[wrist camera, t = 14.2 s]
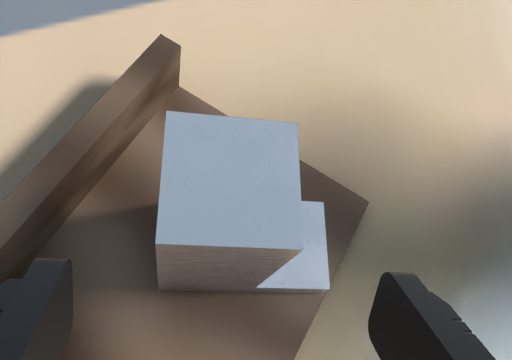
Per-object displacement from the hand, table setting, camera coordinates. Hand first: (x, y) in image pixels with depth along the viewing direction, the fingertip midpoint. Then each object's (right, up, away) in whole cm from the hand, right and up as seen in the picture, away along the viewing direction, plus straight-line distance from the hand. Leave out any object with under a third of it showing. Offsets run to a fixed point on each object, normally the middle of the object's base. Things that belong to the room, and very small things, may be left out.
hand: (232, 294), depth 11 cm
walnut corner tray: (-3, -1, +11) cm, 11 cm away
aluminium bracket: (0, -1, +11) cm, 11 cm away
